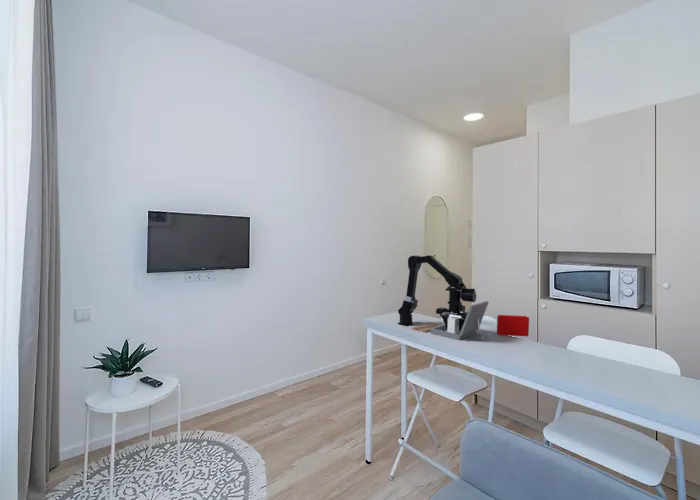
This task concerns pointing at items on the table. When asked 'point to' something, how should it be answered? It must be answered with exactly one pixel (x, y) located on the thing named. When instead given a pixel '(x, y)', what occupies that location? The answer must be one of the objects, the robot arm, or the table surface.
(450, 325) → the block
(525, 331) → the red flat block
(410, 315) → the robot arm
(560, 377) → the table surface
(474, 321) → the case lid
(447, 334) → the case
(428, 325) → the walnut board
